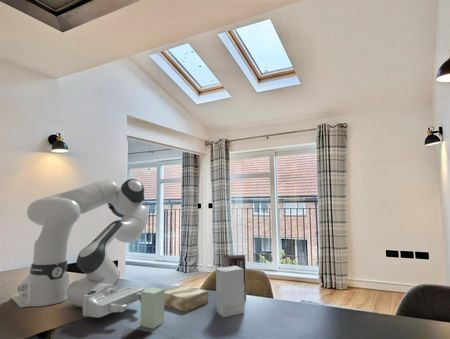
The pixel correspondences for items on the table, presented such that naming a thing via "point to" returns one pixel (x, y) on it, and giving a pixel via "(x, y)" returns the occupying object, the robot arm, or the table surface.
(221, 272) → the skincare box
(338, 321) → the table surface
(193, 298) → the oak box
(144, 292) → the sage block
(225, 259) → the coffee box
